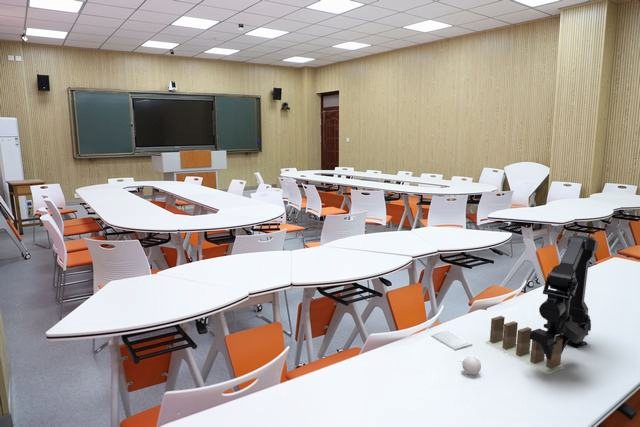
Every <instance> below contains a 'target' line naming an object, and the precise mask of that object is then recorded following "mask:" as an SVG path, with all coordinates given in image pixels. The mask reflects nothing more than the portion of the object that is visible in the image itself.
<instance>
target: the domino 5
mask: <svg viewBox="0 0 640 427" xmlns="http://www.w3.org/2000/svg"><path fill="white" fill-rule="evenodd" d="M555 341H556V342H558V344H556V345H554V347H553V352H552V356H551V359H550V360H549V359H547V361H546V367H548V368H550V369H551V368H554V367H556V366H559V365H561V361H562V355H563V352H562V344H563V339H562V338H560V337H557V338H555Z"/></svg>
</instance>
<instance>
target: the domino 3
mask: <svg viewBox="0 0 640 427" xmlns="http://www.w3.org/2000/svg"><path fill="white" fill-rule="evenodd" d="M532 329H533V328H531V327H528V326H527V327H523V328H520V329H517V338H516V344H517V347H516V355H517V356H519V357H521V356H524V355H526V354H529V353H530V351H531V344H532V340H531V339H530V338H529V336H530V332H531V331H533V330H532Z"/></svg>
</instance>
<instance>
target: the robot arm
mask: <svg viewBox="0 0 640 427" xmlns="http://www.w3.org/2000/svg"><path fill="white" fill-rule="evenodd" d="M598 248H599V241H598V240H596V238H595V237H591V236H586V235H585V236H584V235H577V234H574V235H572V236H568V238H567V243H566V249H565V251H564V254H563V256H562V258H561V260H560V263H559V264H557V265H555V266H553V267H552V269H551V270H550V272H549V273H548V274H547V277H546V280H545V283H544V287H543V290H542V295H546V296H547V298H546V300H545V301H544V302H542V303H541V304H540V306H539V308H538V310H539V311H538V312H539V314H540V316H541V317H542V319H543V320H546V323H544V324H543V328H545V329H546V330H544V329H542V328H536V329H533V330H532V331H531V332H530V336H529V338H530V339H531V341H532V340H534V341H536V342H538V343H540V344H541V346H542V348H543V351H544V353H545V358H547V359H549V360H550V359H551V356H552V352H553V347H554V345H556V344H558V342H556V341H555V338H557V337H560V338H562V339H563V344H562V353H563V352H564V350H565V348H566V347H567V345H569V346H571V347H573V348H580V347H582V346H586V345H588V342H586V341H585V340H584V339H585V338H586V337H587V336H589V332H590V331H591V330H592V320H591V318H590V314H589V307H588V306H587V304H586V301H585V296H586V289H587V288H586V287H587V280H588V278H587V277H588V272H589V263H590V261H591V259H592V258H593V257H594V256H595V255H596V252H597V251H598Z"/></svg>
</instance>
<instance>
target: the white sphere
mask: <svg viewBox="0 0 640 427" xmlns="http://www.w3.org/2000/svg"><path fill="white" fill-rule="evenodd" d="M459 362H462V363H461V365H462V369H463V370H464V372H466V374H468V375H470V376H473V375H474V376H475V375H477V374H479V373H480V371H481V369H482V365H481V362H480V360H479V359H478V358H477V357H476V356H472V355H469V356H466V357H465V358H464V359H463V360H462V361H460V360H459Z"/></svg>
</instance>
